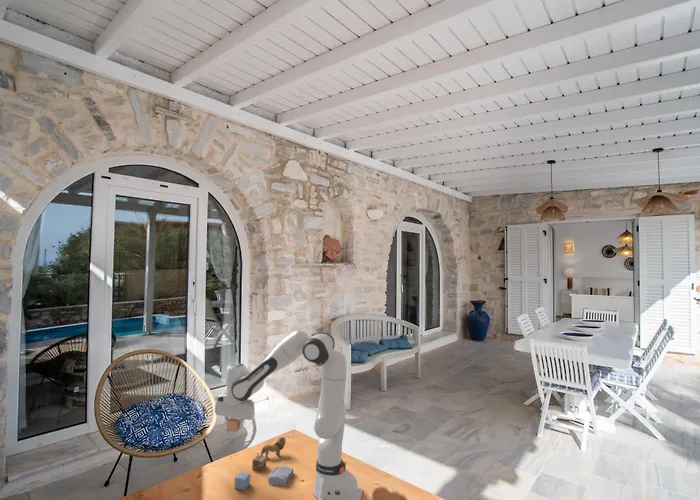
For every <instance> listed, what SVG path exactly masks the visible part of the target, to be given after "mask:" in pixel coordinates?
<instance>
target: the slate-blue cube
mask: <svg viewBox="0 0 700 500" xmlns="http://www.w3.org/2000/svg"><path fill="white" fill-rule="evenodd" d="M250 485H251V473H249V472H244V471H240V472H239V473H237V475H236V476H235V477H234V489H235V490H241V491H245V490H246V489H247V488H248V487H249V486H250Z"/></svg>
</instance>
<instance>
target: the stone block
mask: <svg viewBox="0 0 700 500" xmlns="http://www.w3.org/2000/svg"><path fill="white" fill-rule="evenodd" d="M293 475H294V468H293V467H290V466H288V465H287V466H286V465H281V466H280V465H279V466H276V467H274V469H273V470H272V471H271V472H270V473H269V475H268V478H267V480H268V484H269V485H271V486H278V485H279V486H280V487H286V486H287V485H288V483H289V481H290V480H291V478H292V477H293Z"/></svg>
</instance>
